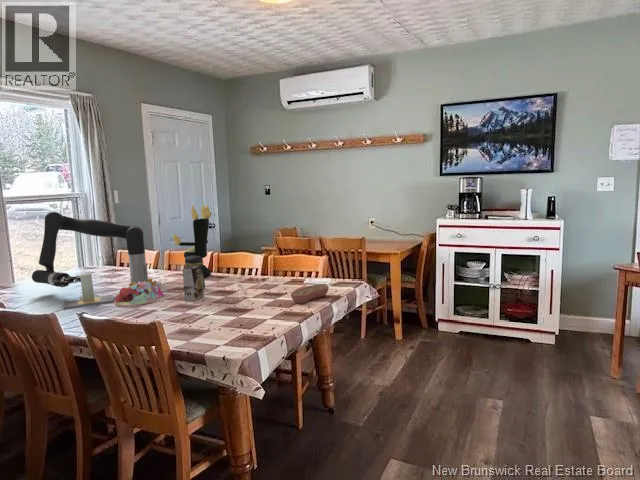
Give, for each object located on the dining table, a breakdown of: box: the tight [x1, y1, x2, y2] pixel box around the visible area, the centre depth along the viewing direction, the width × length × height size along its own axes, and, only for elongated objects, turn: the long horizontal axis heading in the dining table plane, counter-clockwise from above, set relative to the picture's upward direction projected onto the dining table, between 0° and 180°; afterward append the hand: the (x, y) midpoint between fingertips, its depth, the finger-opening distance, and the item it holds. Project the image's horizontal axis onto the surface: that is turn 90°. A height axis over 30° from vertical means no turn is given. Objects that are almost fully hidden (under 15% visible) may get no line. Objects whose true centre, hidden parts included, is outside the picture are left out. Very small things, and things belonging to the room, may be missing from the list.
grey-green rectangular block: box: [79, 273, 95, 302], centre depth 224 cm, size 5×5×13 cm
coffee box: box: [182, 266, 205, 302], centre depth 224 cm, size 9×6×16 cm
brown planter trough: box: [290, 284, 330, 305], centre depth 215 cm, size 23×10×5 cm, turn 141°
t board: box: [62, 292, 115, 310], centre depth 230 cm, size 22×23×1 cm
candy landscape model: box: [113, 277, 164, 307], centre depth 229 cm, size 25×24×9 cm
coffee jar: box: [184, 255, 206, 289], centre depth 244 cm, size 10×8×19 cm
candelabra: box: [173, 203, 212, 279], centre depth 274 cm, size 19×22×45 cm
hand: (76, 282), depth 230 cm, fingers open, 8 cm apart
